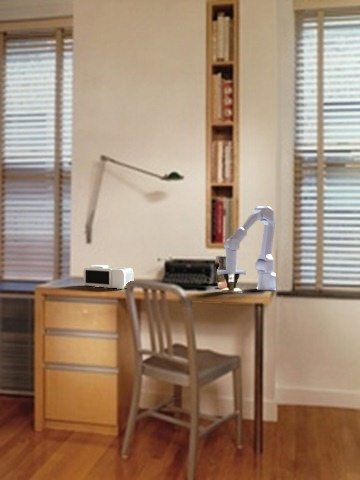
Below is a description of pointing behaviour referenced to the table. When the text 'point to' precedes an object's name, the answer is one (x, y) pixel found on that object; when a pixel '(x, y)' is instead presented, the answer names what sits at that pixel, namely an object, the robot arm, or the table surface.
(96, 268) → the alarm clock
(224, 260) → the coffee box
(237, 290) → the lid
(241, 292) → the mat
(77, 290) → the table surface
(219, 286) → the bowl
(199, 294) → the table surface
